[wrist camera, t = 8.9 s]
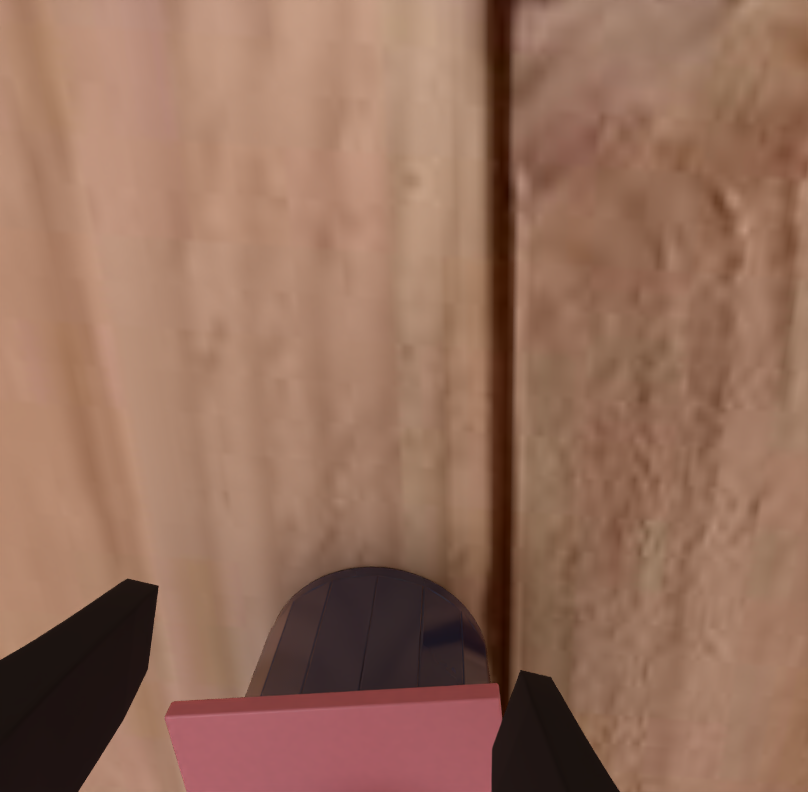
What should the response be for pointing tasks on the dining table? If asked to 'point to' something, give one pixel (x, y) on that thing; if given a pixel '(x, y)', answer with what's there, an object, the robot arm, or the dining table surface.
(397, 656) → the dark faceted cylinder
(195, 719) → the pink square knobbed lid
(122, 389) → the dining table surface
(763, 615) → the dining table surface
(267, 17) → the dining table surface
